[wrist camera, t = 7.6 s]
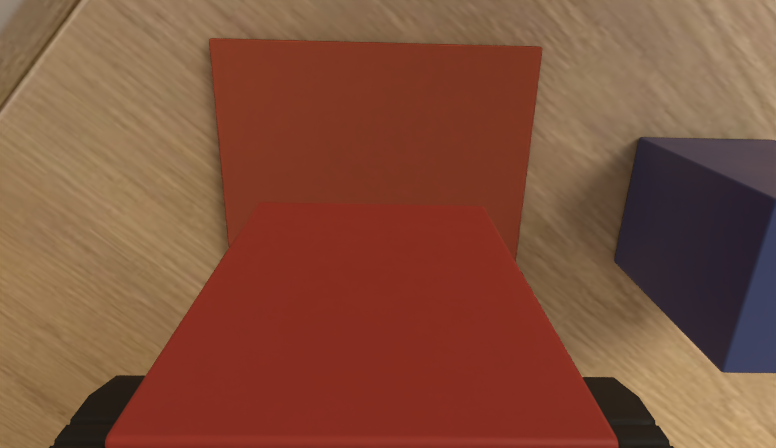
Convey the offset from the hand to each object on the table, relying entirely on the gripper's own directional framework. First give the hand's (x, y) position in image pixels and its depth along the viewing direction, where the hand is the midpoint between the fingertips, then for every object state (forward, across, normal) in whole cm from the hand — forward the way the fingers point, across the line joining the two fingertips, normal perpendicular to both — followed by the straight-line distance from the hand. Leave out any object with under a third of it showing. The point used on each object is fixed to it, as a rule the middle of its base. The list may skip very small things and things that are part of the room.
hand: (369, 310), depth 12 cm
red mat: (+8, 0, 0) cm, 8 cm away
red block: (0, 0, 0) cm, 0 cm away
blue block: (+8, +12, 0) cm, 14 cm away
